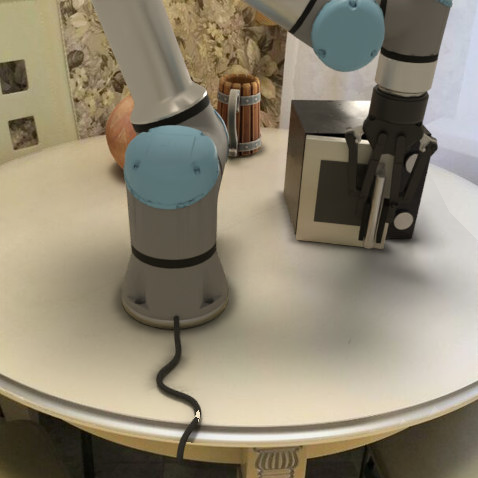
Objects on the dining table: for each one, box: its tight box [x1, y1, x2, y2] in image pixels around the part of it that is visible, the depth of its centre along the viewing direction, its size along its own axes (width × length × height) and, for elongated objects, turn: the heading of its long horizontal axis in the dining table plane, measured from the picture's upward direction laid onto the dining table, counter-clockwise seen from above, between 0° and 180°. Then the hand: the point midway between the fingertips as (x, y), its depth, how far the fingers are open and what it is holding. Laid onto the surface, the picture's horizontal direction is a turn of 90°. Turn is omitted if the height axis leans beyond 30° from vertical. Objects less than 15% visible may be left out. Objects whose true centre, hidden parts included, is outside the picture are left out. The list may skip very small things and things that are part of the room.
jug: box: [104, 93, 137, 171], centre depth 120 cm, size 18×18×20 cm
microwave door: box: [295, 135, 394, 250], centre depth 96 cm, size 7×15×18 cm, turn 81°
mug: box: [216, 72, 262, 158], centre depth 130 cm, size 16×11×15 cm
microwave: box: [283, 99, 433, 239], centre depth 106 cm, size 18×20×18 cm
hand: (369, 237), depth 97 cm, fingers open, 2 cm apart
